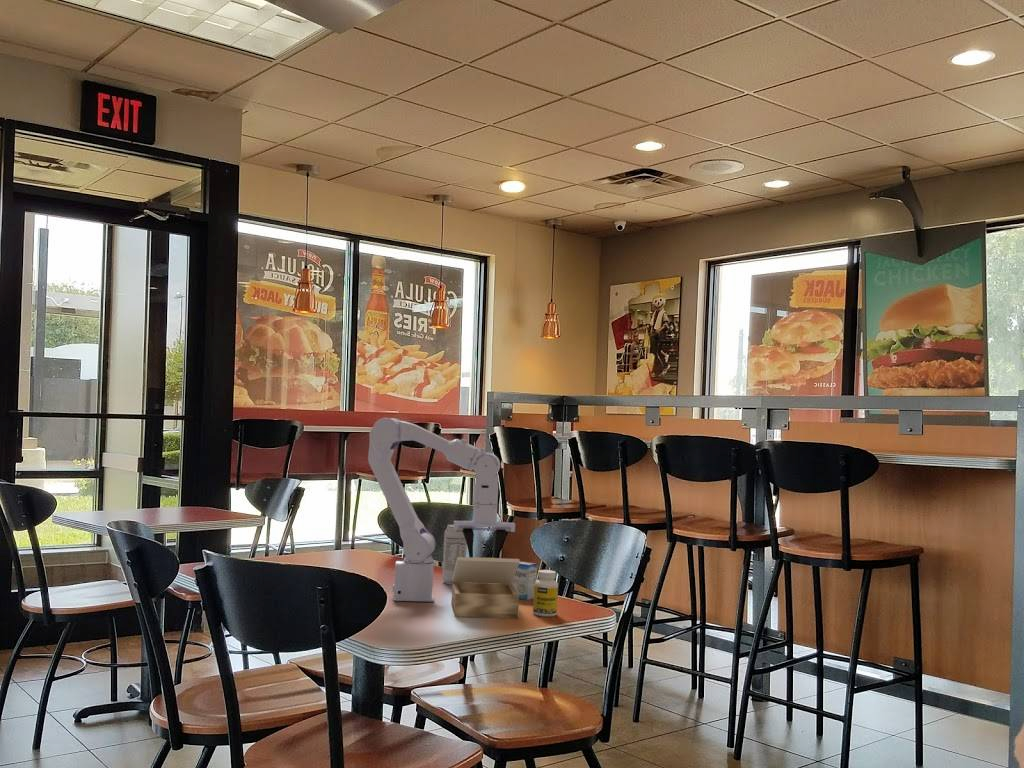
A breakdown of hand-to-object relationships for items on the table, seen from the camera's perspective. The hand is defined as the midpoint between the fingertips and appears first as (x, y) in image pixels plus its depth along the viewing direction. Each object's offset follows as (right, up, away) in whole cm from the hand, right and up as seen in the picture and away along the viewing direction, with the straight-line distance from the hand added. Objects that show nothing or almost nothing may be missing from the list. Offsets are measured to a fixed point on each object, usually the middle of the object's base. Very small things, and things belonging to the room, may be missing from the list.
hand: (482, 561), depth 224 cm
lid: (+1, -1, -8) cm, 8 cm away
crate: (+1, -10, -9) cm, 13 cm away
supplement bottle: (+14, -11, -10) cm, 20 cm away
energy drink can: (-9, -11, +25) cm, 28 cm away
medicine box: (+8, -11, +10) cm, 17 cm away
